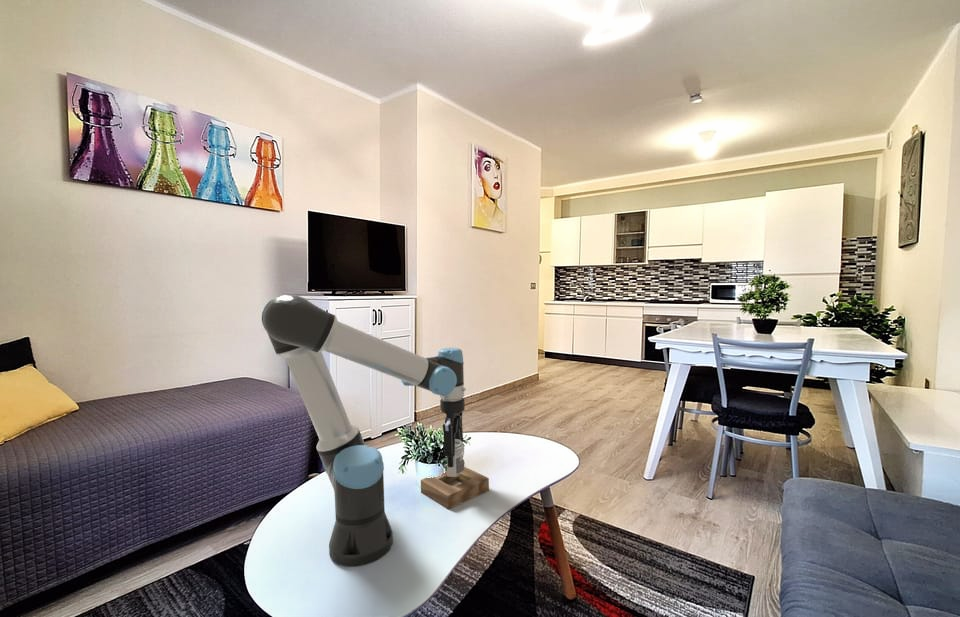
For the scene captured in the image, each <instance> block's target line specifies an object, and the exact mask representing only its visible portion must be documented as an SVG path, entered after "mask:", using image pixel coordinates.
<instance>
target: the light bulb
mask: <svg viewBox="0 0 960 617" xmlns="http://www.w3.org/2000/svg"><path fill="white" fill-rule="evenodd" d="M455 442H457V443H460V444H457V443H455V455H459V454H460V455H459V456H456V475H457V476H456V477H458V476H459V475H460V472H462V471H463V470H464V467H465V460H464V456H465V455H464V454H465V443H464V442H462V441H461V440H458V439H455ZM463 443H464V444H463ZM459 447H460V448H459ZM460 457H461V458H460Z"/></svg>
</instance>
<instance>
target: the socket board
mask: <svg viewBox="0 0 960 617" xmlns="http://www.w3.org/2000/svg"><path fill="white" fill-rule="evenodd" d="M487 492H490V478H489V477H487V476H486V475H483V474H480V473H478V472H477V471H474V470H473V469H470V468H468V467H466V466H464V470H463V471H462V472H460V475H459V476H458V477H448V476H447V471H446V472H445V473H443V474H442V475H441V476H438V477H433V478H432V477H431V478H427V477H424V478H422V479H420V493H421V494H422V495H424V496H426V497H427V498H429V499H431V500H432V501H434V503H435V502H436V503H437V504H439V505H440V506H442V507H443V508H445V509H447V510H450V509H452V508H454V507H455V508H456V506H459V505H460V504H463V503H465V502H467V501H469V500H471V499H474V498H476V497H479V496H480V495H483V494H485V493H487Z"/></svg>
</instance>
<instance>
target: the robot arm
mask: <svg viewBox="0 0 960 617" xmlns="http://www.w3.org/2000/svg"><path fill="white" fill-rule="evenodd" d="M261 322H262V326H263V329H264V330H265V331H266V333H267V336H268V338H269V340H270V342H271V343H270V344H271V345H272V347H273V349H274V352H275V354H276V355H277V356H279V357H281V358H284V359H285V361H286V363H287V366H288V368H289V371H290V373H291V375H292V377H293V380H294V382H295V385H296V388H297V389H298V391H299V394H300V397H301V399H302V401H303V404H304V406H305V409H306V412H307V413H308V415H309V418H310V420H311V423H312V425H313V427H314V430H315V432H316V435H317V436H318V442H317V444H316V451H317V453H318V455H319V457H320V460H321V462H322V466H323V469H324V471H325V472H326V474H327V476H328V479H329V482H330V483H331V485H332V488H333V492H334V509H335V510H334V512H335V522H334V525H333V528H332V532H331V536H330V540H329V544H328V552H329V553H328V554H329V557H330V559H331V560H332V561H333V562H334V563H336V564H337V565H340V566H345V567H359V566H364V565H369V564H371V563H373V562H376V561H377V560H379V559H381V558H383V557H384V556H385V555H387V553H389V552H390V550H391V548H392V547H393V544H394V538H393V537H394V535H393V529H392V527H391V524H390V522H389V519H388V517H387V515H386V514H387V513H386V511H385V486H384V485H385V484H384V483H385V482H384V470H385V466H384V465H385V464H384V461H383V455H382V453H381V452H380V450H378V449H377V448H376V447H373V446H369V445H366V443H365V441H364V438H363V436H362V433H361V431H360V428H359V427H358V426H356V425H353V424H351V422H350V420H349V417H348V415H347V412H346V409H345V407H344V404H343V403H342V402H343V401H342V400H341V396H340V394H339V392H338V389H337V387H336V385H335V382H334V380H333V377H332V375H331V372H330V369H329V367H328V364H327V362H326V360H325V357H324V355H323V353H322V352H324V351H325V352H327V353H330V354H333V355H335V356H338V357H340V358H343V359H345V360H348V361H351V362H353V363H356V364H358V365H361V366H364V367H367V368H369V369H372V370H374V371H377V372H380V373H382V374H385V375H388V376H390V377H393V378H395V379H397V380H400V381H401V383H402V384H403V385H404V386H405V387H406V386H407V387H409V386H412V387H414V386H417V387H418V388H421V389H424V390H426V391H429V392H431V393H432V394H434V395H437V396H439V398H440V400H439V402H440V403H439V405H440V406H439V407H440V412H441V413H443V414H446V416H445V419H444V423H443V424H442V431H443V433H442V434H443V456H444V457H446V470H447V476H448V477H456V476H457V475H456V456H459V455H460V454H459V455H455V443H457V442H455V439H458V440H461V441H462V443H463V444H464V445H465V443H464V433H463V432H464V431H463V412H464V411H465V408H466V406H465V404H466V403H465V402H466V401H465V398H464V397H465V391H467V390H466V389H467V388H466V387H465V383H464V382H465V379H464V377H465V376H464V374H465V373H464V364H465V362H464V355H463V354H464V353H463V350H461V348H459V347H444V348H440V349H439V350H438V354H437V355H436V356H432V357H424V356H420V355H419V354H417V353H414V352H411V351H409V350H407V349H404V348H402V347H400V346H398V345H396V344H395V345H394V344H392V343H390V342H388V341H386V340H383V339H381V338H379V337H376V336H373V335H372V334H369V333H367V332H364V331H362V330H360V329H357V328H354V327H353V326H350V325H348V324H345V323H343V322H341V321H338V317H337V316H336V315H335V314H333V313H330V312H328V311H326V310H324V309H322V307H321V308H320V307H318V306H317V305H316V304H314V303H312V302H311V301H309V300H308V299H307V298H305V297H302V296H299V295H294V294H283V295H278V296H275V297H273V298H272V299H271V300H269V301H268V302H267V303H266V305H265V306H264V308H263V310H262V312H261ZM457 444H460V443H457ZM459 448H460V447H459ZM460 458H461V457H460Z"/></svg>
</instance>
